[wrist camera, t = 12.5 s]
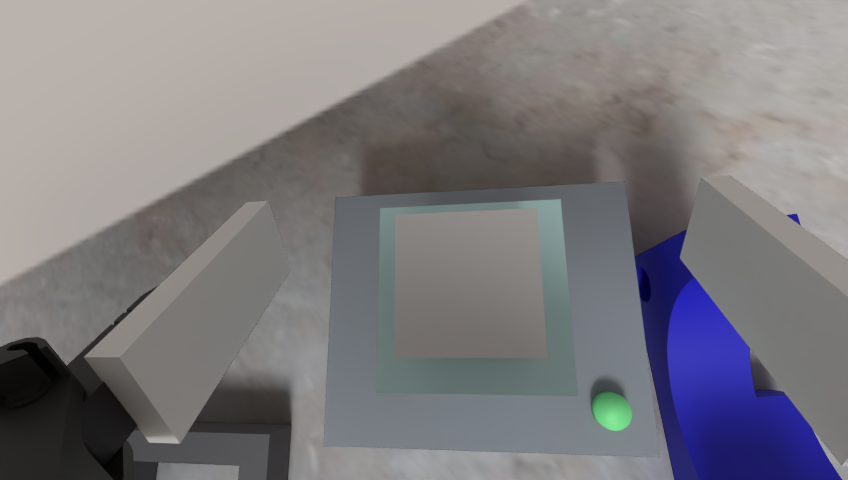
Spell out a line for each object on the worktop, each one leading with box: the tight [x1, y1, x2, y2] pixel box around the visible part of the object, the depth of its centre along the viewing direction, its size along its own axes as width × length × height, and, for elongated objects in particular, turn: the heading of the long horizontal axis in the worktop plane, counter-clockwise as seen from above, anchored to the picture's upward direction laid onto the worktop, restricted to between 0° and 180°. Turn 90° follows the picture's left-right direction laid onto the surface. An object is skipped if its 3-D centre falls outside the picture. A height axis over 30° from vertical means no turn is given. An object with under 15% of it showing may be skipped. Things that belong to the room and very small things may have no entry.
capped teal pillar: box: [376, 199, 578, 396], centre depth 13 cm, size 4×4×13 cm
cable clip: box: [635, 214, 842, 480], centre depth 14 cm, size 12×4×6 cm, turn 5°
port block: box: [323, 182, 660, 457], centre depth 17 cm, size 12×10×4 cm
